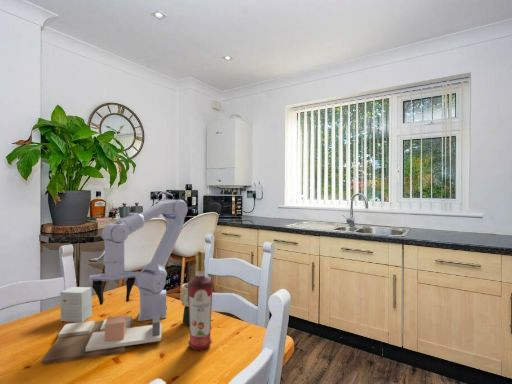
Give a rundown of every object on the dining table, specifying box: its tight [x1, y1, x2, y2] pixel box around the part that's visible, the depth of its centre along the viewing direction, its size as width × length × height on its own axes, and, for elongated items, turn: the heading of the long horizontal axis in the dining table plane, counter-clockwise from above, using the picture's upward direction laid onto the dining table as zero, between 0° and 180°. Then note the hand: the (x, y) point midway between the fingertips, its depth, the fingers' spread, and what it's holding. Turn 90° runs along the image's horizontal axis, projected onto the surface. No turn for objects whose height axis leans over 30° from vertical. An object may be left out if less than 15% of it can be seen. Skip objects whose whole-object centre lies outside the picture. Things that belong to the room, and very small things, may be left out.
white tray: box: [85, 314, 163, 352], centre depth 88 cm, size 20×9×5 cm, turn 107°
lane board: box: [41, 315, 133, 365], centre depth 90 cm, size 20×21×2 cm
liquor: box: [187, 250, 214, 351], centre depth 86 cm, size 7×7×28 cm
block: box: [105, 315, 127, 342], centre depth 87 cm, size 5×5×5 cm
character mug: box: [181, 282, 189, 325], centre depth 101 cm, size 11×7×13 cm, turn 164°
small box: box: [59, 286, 93, 323], centre depth 104 cm, size 8×6×10 cm
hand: (114, 302), depth 95 cm, fingers open, 7 cm apart
